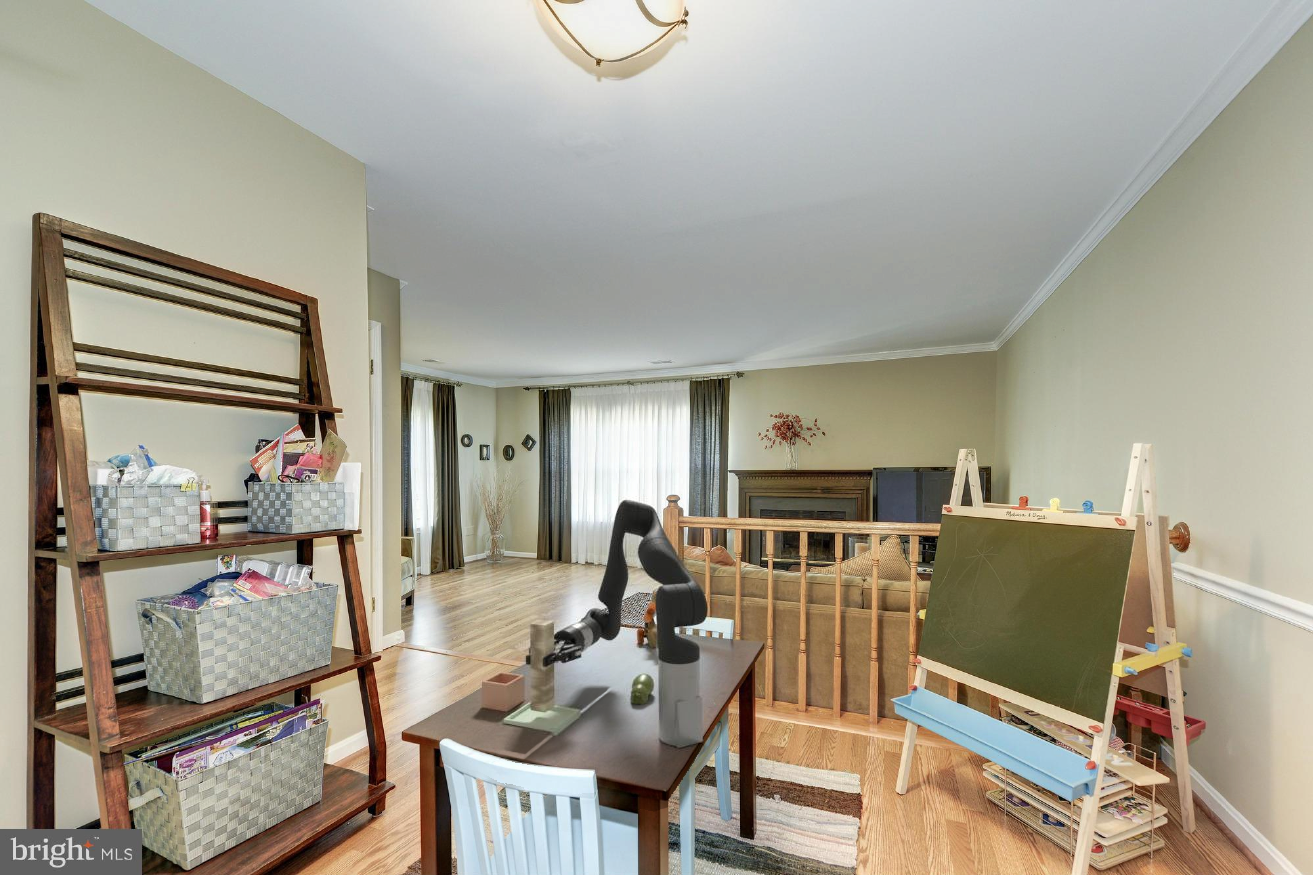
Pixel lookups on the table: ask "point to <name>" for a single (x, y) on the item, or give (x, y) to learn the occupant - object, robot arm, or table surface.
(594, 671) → the table surface
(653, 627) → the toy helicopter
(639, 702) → the pear
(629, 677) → the table surface
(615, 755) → the table surface
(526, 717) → the tray
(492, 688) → the salmon pink open box
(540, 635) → the post
